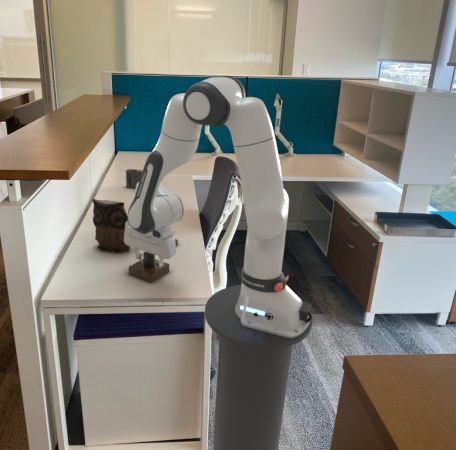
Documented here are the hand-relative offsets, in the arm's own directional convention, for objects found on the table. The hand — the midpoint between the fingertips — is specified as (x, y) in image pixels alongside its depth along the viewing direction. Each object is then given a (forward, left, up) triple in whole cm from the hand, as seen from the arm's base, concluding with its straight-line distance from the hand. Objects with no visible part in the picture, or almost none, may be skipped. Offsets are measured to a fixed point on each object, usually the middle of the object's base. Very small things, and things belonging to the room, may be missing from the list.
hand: (149, 262), depth 154 cm
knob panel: (0, 0, -4) cm, 4 cm away
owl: (+24, -9, -4) cm, 26 cm away
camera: (+66, -72, -4) cm, 98 cm away
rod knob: (0, 0, -1) cm, 1 cm away
